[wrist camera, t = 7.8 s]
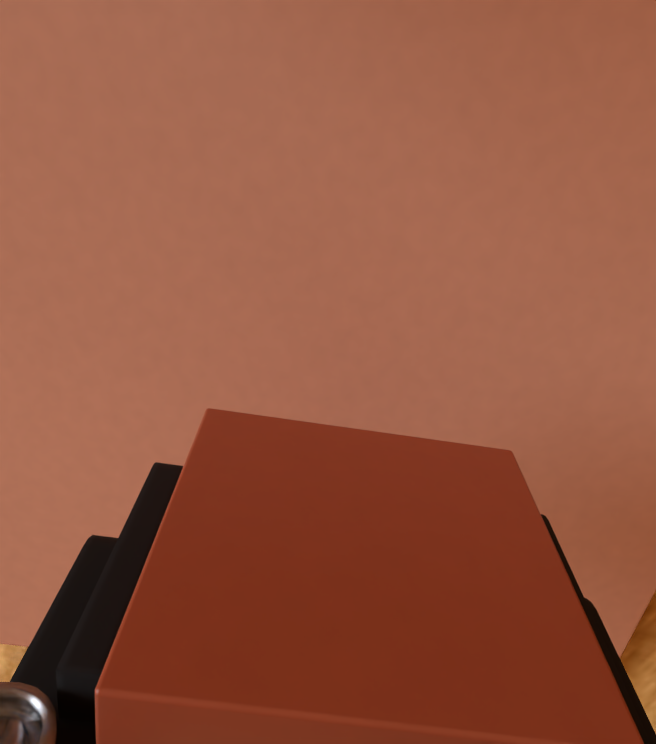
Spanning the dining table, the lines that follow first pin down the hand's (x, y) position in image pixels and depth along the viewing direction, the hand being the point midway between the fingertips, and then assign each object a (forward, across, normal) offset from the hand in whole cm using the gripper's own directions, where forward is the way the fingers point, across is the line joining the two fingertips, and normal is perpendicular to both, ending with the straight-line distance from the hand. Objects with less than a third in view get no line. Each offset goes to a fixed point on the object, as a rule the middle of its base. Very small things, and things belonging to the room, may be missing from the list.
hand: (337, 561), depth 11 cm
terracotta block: (0, 0, 0) cm, 0 cm away
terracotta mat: (+6, 0, 0) cm, 6 cm away
